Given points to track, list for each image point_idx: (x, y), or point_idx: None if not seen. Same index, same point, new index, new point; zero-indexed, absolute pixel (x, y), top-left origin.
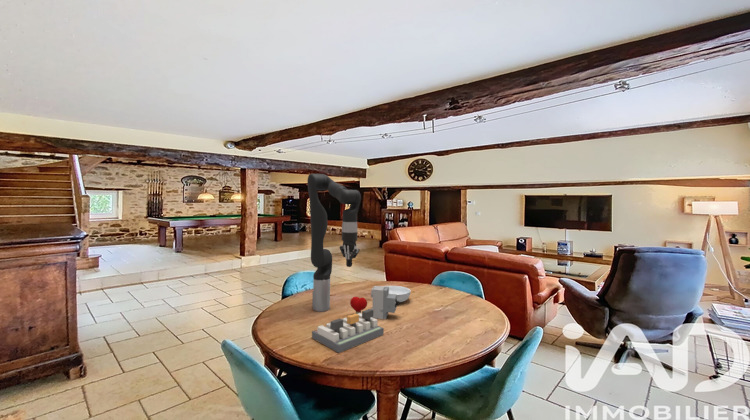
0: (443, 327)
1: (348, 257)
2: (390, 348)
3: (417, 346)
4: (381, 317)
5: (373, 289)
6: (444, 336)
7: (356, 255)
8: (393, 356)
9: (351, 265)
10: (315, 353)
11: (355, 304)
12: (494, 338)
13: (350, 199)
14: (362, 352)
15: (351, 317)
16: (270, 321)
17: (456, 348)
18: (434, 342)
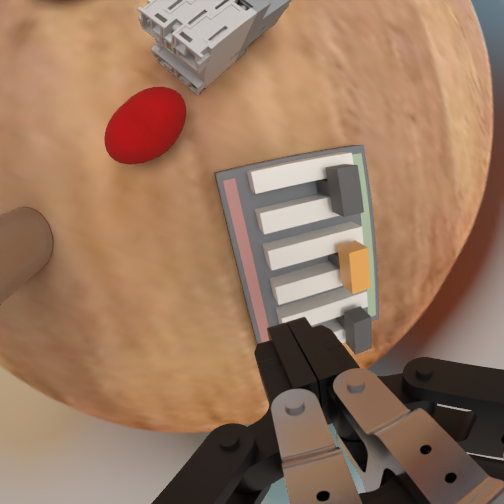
0: None
1: (359, 440)
2: (420, 186)
3: (440, 122)
4: (232, 63)
5: (206, 46)
6: (426, 28)
7: (477, 369)
8: (444, 205)
9: (325, 332)
10: None
11: (161, 151)
12: None
13: None
14: (398, 258)
15: (369, 283)
16: (95, 400)
17: (470, 67)
18: (441, 74)
